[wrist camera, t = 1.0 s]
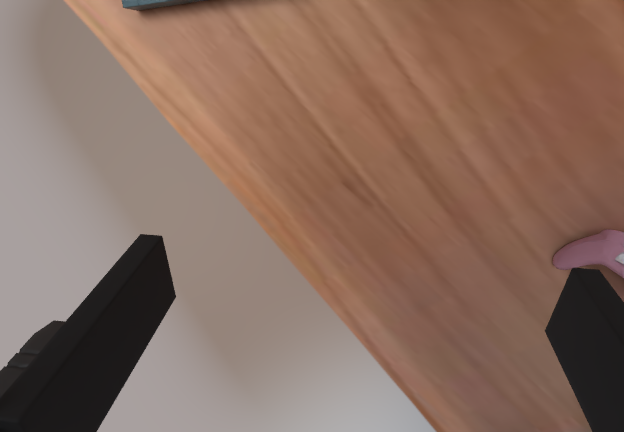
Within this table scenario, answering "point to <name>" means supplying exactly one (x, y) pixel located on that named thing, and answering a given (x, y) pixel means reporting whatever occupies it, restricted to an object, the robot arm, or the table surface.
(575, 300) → the robot arm
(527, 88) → the table surface
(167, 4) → the teal u-shaped frame
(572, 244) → the video game controller
